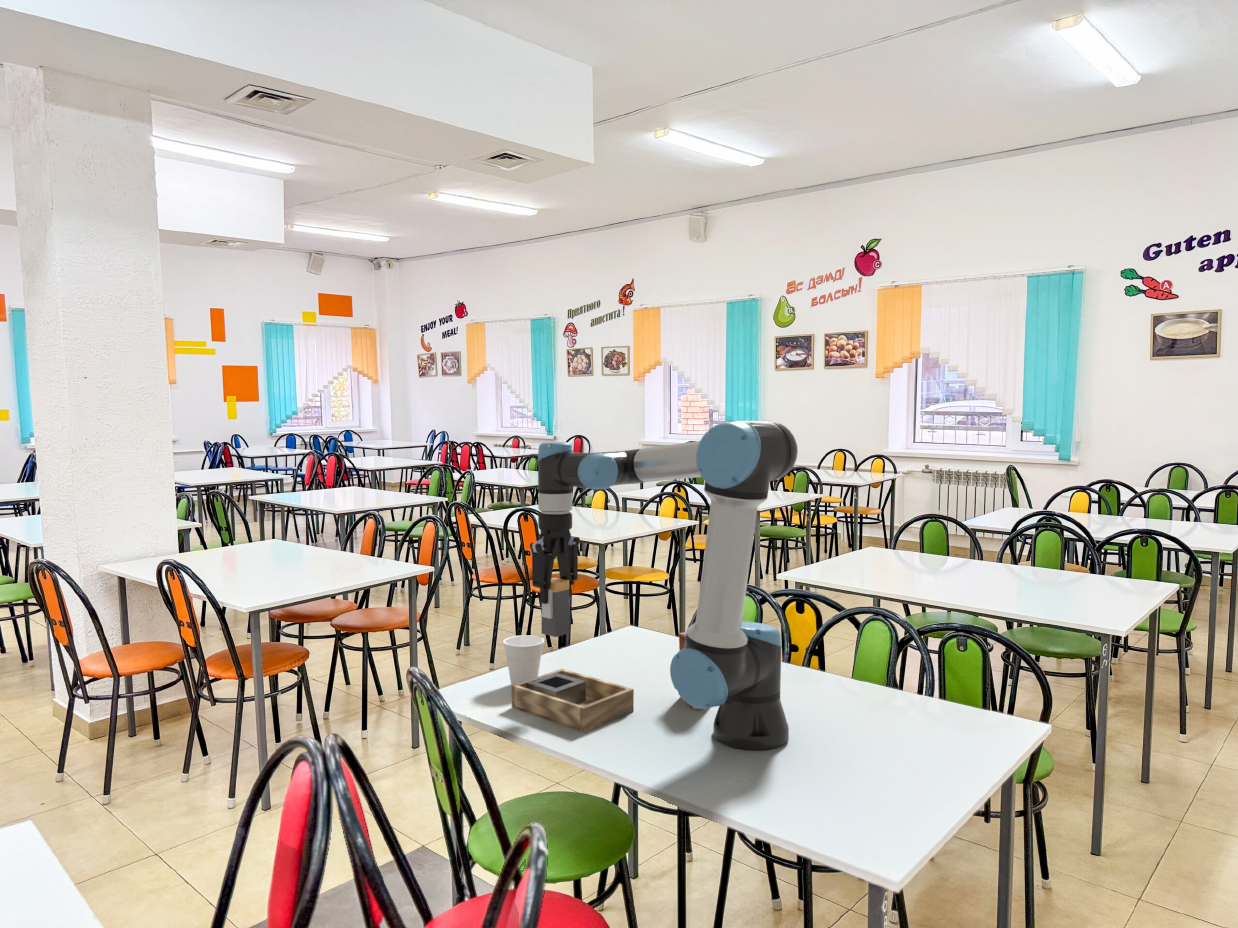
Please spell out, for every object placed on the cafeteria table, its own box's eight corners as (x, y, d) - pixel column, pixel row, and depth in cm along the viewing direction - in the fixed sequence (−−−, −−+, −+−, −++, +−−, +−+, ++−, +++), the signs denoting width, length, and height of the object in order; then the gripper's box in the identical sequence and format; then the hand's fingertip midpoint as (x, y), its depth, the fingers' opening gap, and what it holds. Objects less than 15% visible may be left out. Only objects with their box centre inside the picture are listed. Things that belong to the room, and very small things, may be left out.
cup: (542, 692, 199) (542, 646, 198) (500, 692, 199) (499, 646, 198) (546, 678, 209) (546, 634, 208) (506, 678, 209) (506, 634, 208)
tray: (633, 711, 187) (633, 688, 186) (583, 732, 175) (583, 708, 174) (562, 689, 201) (562, 668, 201) (511, 707, 189) (511, 685, 189)
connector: (569, 632, 190) (569, 580, 189) (555, 637, 187) (555, 583, 186) (555, 629, 193) (555, 577, 192) (541, 633, 190) (541, 580, 189)
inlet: (585, 700, 191) (585, 681, 191) (556, 712, 184) (556, 691, 184) (556, 691, 198) (556, 672, 197) (526, 702, 191) (526, 682, 190)
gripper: (570, 506, 197) (570, 605, 199) (514, 514, 184) (515, 619, 186) (594, 509, 192) (594, 610, 194) (538, 517, 179) (538, 625, 181)
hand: (555, 614), depth 190 cm, fingers closed on connector, 4 cm apart
